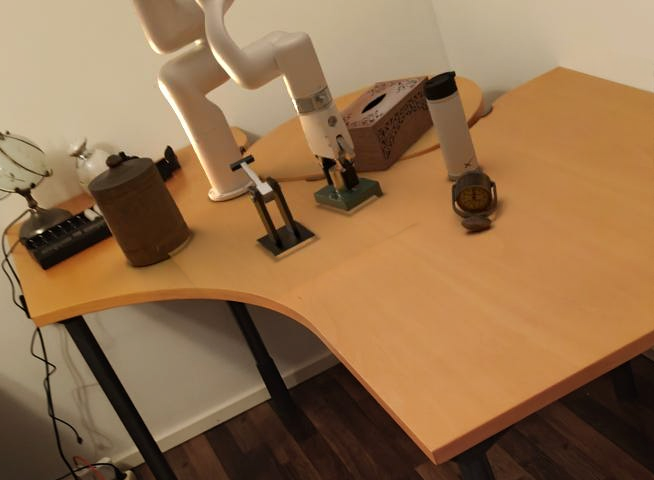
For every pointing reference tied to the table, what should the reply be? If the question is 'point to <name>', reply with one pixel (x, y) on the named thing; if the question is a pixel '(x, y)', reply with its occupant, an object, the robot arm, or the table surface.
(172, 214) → the wooden container
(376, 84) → the tissue box cover
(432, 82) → the travel mug
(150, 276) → the table surface
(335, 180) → the knob
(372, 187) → the dial panel
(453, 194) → the vintage desk clock
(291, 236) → the black lever stand
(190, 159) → the table surface
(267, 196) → the press lever
